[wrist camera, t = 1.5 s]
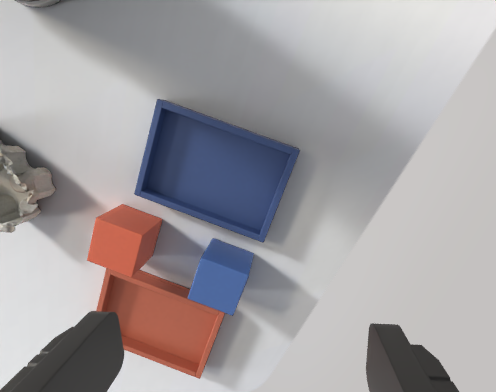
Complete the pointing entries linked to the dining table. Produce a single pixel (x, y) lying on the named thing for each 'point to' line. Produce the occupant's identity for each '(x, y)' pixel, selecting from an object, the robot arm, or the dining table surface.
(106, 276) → the terracotta tray
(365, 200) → the dining table surface
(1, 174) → the egg carton
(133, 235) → the terracotta block
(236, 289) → the blue block
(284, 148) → the blue tray
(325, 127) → the dining table surface
